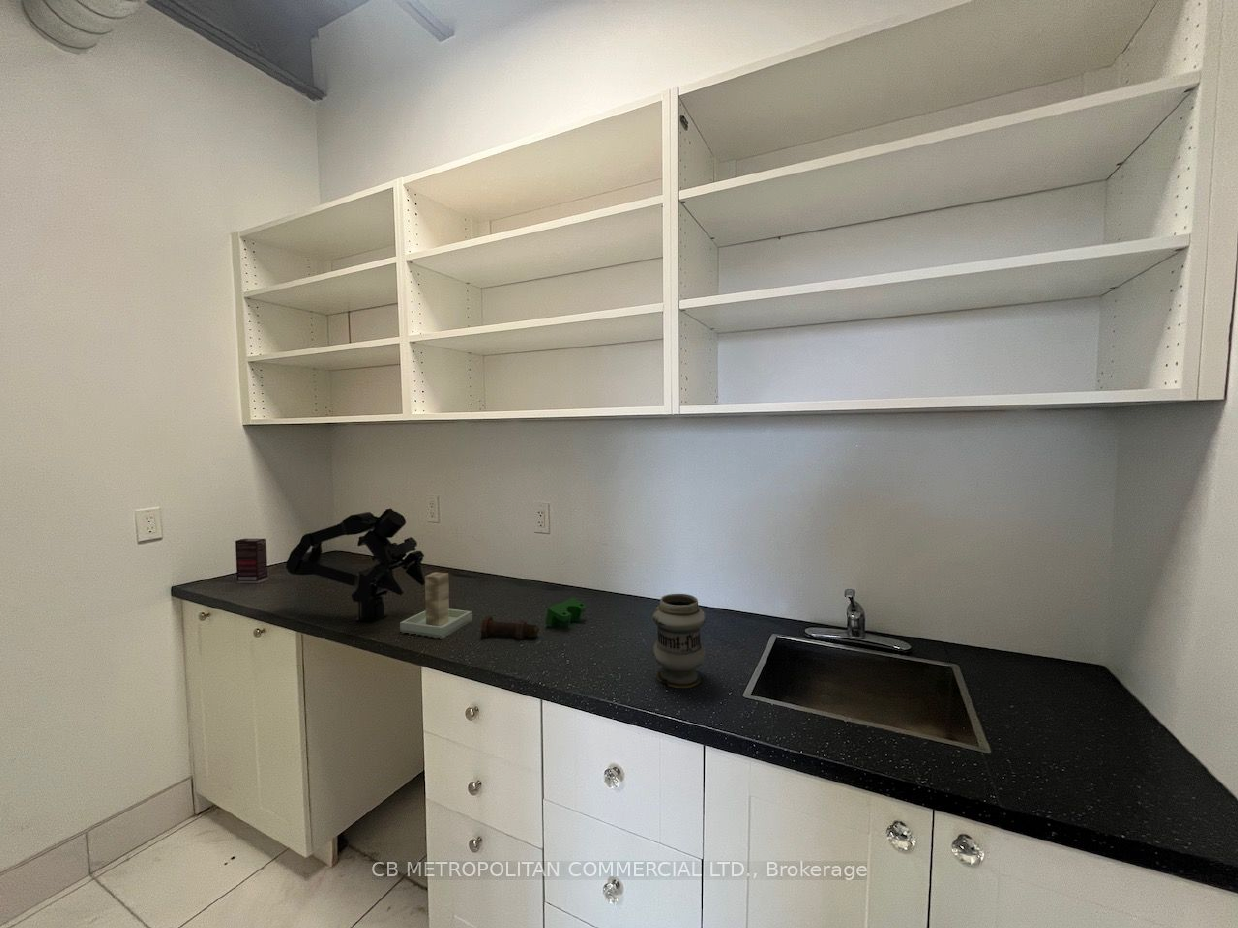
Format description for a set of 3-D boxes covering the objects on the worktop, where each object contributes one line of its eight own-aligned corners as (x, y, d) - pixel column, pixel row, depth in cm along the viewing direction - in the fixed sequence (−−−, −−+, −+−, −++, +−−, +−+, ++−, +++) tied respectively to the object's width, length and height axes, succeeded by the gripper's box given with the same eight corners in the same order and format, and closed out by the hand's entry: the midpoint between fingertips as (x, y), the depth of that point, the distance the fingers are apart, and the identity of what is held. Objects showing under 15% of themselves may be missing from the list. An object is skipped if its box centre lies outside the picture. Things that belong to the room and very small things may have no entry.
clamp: (562, 643, 139) (560, 621, 134) (547, 634, 142) (544, 611, 137) (589, 617, 147) (587, 594, 142) (573, 608, 150) (571, 586, 146)
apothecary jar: (641, 678, 109) (641, 599, 109) (671, 660, 118) (672, 587, 118) (686, 697, 101) (687, 612, 101) (715, 676, 111) (717, 597, 110)
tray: (400, 632, 135) (400, 622, 135) (432, 616, 148) (432, 606, 148) (442, 639, 131) (442, 627, 130) (471, 621, 144) (471, 611, 143)
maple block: (425, 625, 138) (425, 576, 137) (435, 619, 142) (435, 572, 141) (439, 627, 136) (438, 577, 136) (448, 621, 141) (448, 573, 140)
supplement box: (268, 579, 185) (266, 538, 185) (258, 583, 180) (256, 540, 180) (246, 579, 186) (244, 538, 185) (235, 583, 181) (234, 540, 180)
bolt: (536, 645, 131) (482, 640, 133) (541, 630, 135) (489, 625, 137) (533, 631, 128) (478, 626, 130) (538, 616, 132) (485, 611, 134)
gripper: (373, 537, 133) (407, 582, 130) (419, 524, 150) (449, 563, 148) (349, 562, 135) (383, 606, 133) (397, 546, 153) (427, 585, 151)
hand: (413, 589), depth 141 cm, fingers open, 9 cm apart
